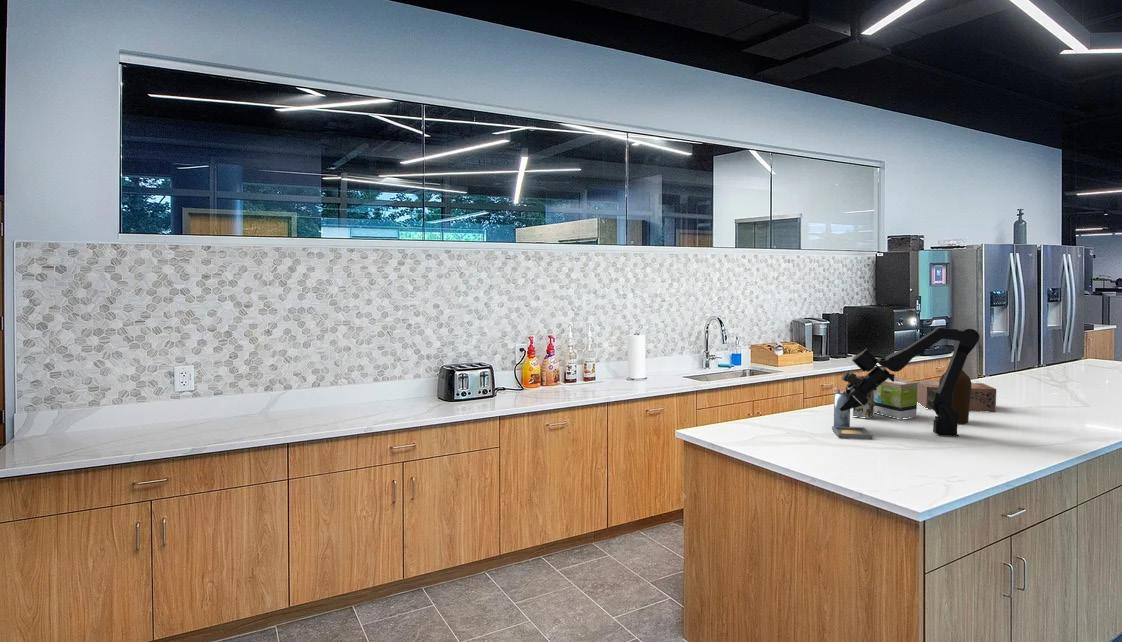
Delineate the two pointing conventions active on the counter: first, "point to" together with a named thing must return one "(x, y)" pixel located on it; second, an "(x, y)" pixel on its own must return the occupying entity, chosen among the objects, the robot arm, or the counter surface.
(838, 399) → the spout can
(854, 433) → the tray
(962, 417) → the olive oil
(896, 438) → the counter surface
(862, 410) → the coffee box
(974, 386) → the tissue box cover
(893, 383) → the tea box
